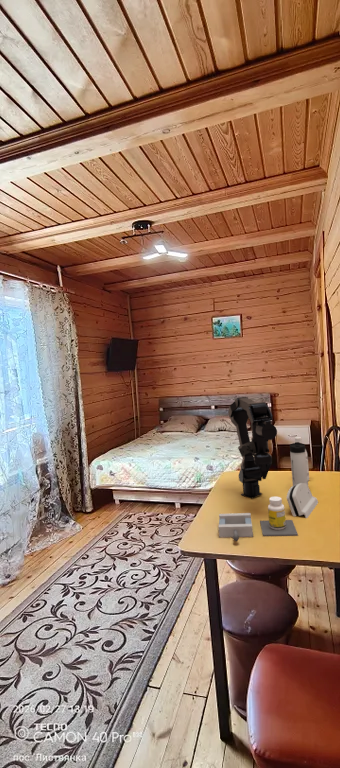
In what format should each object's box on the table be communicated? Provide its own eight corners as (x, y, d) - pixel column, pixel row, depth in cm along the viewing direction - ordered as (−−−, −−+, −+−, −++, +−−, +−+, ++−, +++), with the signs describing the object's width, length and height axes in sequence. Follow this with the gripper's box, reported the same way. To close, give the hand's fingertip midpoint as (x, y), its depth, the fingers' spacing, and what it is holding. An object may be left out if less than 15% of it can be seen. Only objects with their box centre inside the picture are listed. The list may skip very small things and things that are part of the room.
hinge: (307, 518, 132) (295, 491, 134) (294, 520, 135) (283, 494, 137) (318, 502, 146) (307, 477, 148) (307, 504, 149) (296, 480, 150)
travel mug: (308, 487, 164) (304, 441, 163) (308, 492, 157) (305, 445, 157) (293, 486, 166) (289, 442, 165) (292, 491, 160) (289, 445, 159)
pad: (260, 522, 133) (260, 520, 133) (292, 521, 131) (292, 519, 131) (262, 536, 122) (262, 534, 122) (297, 535, 120) (297, 534, 120)
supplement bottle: (266, 525, 129) (264, 497, 128) (280, 522, 130) (278, 494, 130) (274, 531, 124) (272, 502, 123) (289, 528, 125) (286, 499, 124)
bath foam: (290, 480, 175) (287, 438, 174) (299, 476, 179) (296, 435, 178) (303, 483, 169) (299, 439, 168) (312, 479, 173) (309, 436, 172)
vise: (220, 523, 135) (219, 513, 135) (251, 522, 133) (250, 512, 133) (218, 545, 119) (217, 534, 119) (254, 544, 117) (253, 533, 117)
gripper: (237, 432, 154) (240, 469, 154) (239, 441, 135) (242, 484, 136) (265, 430, 152) (268, 468, 153) (270, 439, 133) (274, 482, 134)
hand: (262, 475), depth 144 cm, fingers open, 9 cm apart
